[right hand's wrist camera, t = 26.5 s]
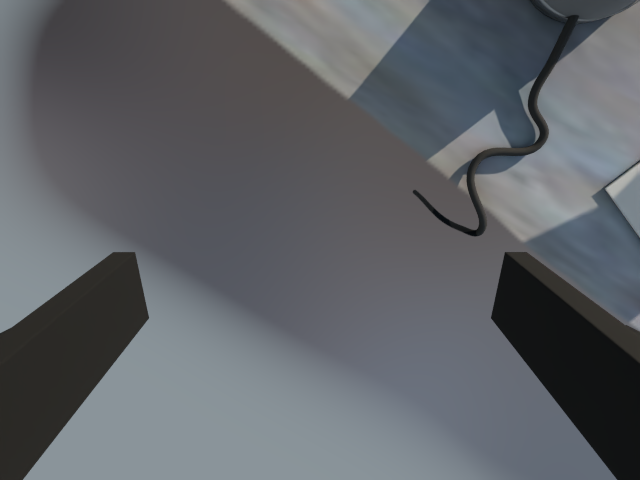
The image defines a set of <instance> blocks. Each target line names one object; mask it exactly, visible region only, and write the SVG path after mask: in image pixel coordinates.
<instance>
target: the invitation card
mask: <svg viewBox="0 0 640 480" xmlns="http://www.w3.org/2000/svg"><path fill="white" fill-rule="evenodd" d="M604 189H605V190H606V191H607V193H608V194H609V196H610V197H611V198H612V200H613V201H614V203H615V204H616V205H617V207H618V208H619V210H620V211H621V213H622V214H623V215H624V217H625V218H626V220H627V221H628V222H629V224H630V225H631V227H632V228H633V229H634V231H635V232H636V234H637V235H638V236H639V238H640V162H639V163H637V164H636V165H635V166H633V167H632V168H631V169H629V170H628V171H627V172H626V173H624V174H623V175H622V176H620V177H619V178H618V179H616V180H615V181H614V182H612V183H611V184H610V185H608V186H607V187H606V188H604Z"/></svg>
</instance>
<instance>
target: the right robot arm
mask: <svg viewBox="0 0 640 480" xmlns="http://www.w3.org/2000/svg"><path fill="white" fill-rule="evenodd" d="M638 1H640V0H531V2H532V3H533V4H534V5H535V7H536V8H537V9H539V10H540V11H541V12H542V13H544V14H545V15H546V16H548V17H550V18H552V19H554V20H557V21H560V22H564V23H566V24H565V26H564V28H563V30H562V32H561V34H560V36H559V38H558V40H557V42H556V44H555V47H554V49H553V51H552V53H551V55H550V57H549V59H548V61H547V63H546V64H545V66H544V68H543V69H542V71H541V73H540V74H539V76H538V77H537V79H536V81H535V83H534V84H533V86H532V89H531V91H530V95H529V99H528V108H529V112H530V114H531V116H532V118H533V120H534V121H535V123H536V124H537V126H538V128H539V131H540V136H539V138H538V140H537V141H536V142H535V143H534V144H533V145H532V146H529V147H525V148H492V149H488V150H485V151H483V152H481V153H480V154H478V155H477V156H476V157H475V158H474V159H473V160H472V162H471V164H470V166H469V168H468V172H467V187H468V191H469V194H470V197H471V199H472V202H473V204H474V207H475V209H476V211H477V214H478V218H479V227H478V229H477V230H472V229H469V228H467V227H464V226H462V225H459V224H457V223H454V222H452V221H450V220H449V219H447V218H446V217H444V216H443V215H441V214H440V213H439V212H438V211H437V210H436V209H435V208H434V207H433V206H432V205H431V204H430V203H429V202H428V201H427V200H426V199H425V198H424V197H423V196H422V195H421V194H420V193H419V192H418V191H416V190H413V194H414V195H416V196H417V197H418V198H419V199H420V200H421V201H422V202H423V204H424V205H425V206H426V207H427V208H428V209H429V210H430V211H431V212H432V213H433V214H434V215H435V216H436V217H437V218H438V219H439V220H440V221H442V222H443V223H445V224H446V225H448V226H450V227H451V228H454V229H456V230H458V231H461V232H463V233H465V234H467V235H470V236H474V237H476V236H480V235H482V234H483V232H484V231H485V229H486V226H487V219H486V214H485V212H484V209H483V206H482V204H481V201H480V199H479V197H478V194H477V191H476V187H475V182H474V175H475V171H476V168H477V167H478V165H479V163H480V162H481V161H482V160H483V159H485V158H487V157H490V156H523V155H528V154H531V153H534V152H535V151H537V150H538V149H540V148H541V147H542V146H543V145H544V143H545V142H546V140H547V138H548V134H549V129H548V126H547V124H546V122H545V120H544V119H543V117H542V115H541V114H540V112H539V110H538V107H537V99H538V95H539V92H540V89H541V87H542V85H543V84H544V82H545V80H546V79H547V77H548V76H549V74H550V73H551V71H552V69H553V68H554V66H555V64H556V62H557V61H558V59H559V57H560V55H561V53H562V51H563V49H564V47H565V45H566V43H567V41H568V38H569V36H570V34H571V32H572V30H573V28H574V26H575V24H579V23H588V22H592V21H596V20H600V19H603V18H606V17H609V16H613V15H615V14H617V13H620V12H622V11H624V10H626V9H627V8H629V7H631V6H632V5H634V4H635V3H637V2H638ZM148 319H149V316H148V311H147V307H146V302H145V297H144V293H143V288H142V283H141V279H140V274H139V269H138V264H137V260H136V255H135V252H113V253H112V254H110V255H109V256H108V257H106V258H105V259H104V260H102V261H101V262H100V263H98V264H97V265H96V266H94V267H93V268H91V269H90V270H89V271H87V272H86V273H85V274H83V275H82V276H81V277H79V278H78V279H77V280H75V281H74V282H73V283H71V284H70V285H69V286H67V287H66V288H65V289H63V290H62V291H60V292H59V293H58V294H56V295H55V296H54V297H52V298H51V299H50V300H48V301H47V302H46V303H44V304H43V305H42V306H40V307H39V308H38V309H36V310H35V311H33V312H32V313H31V314H29V315H28V316H27V317H25V318H24V319H23V320H21V321H20V322H19V323H17V324H16V325H15V326H13V327H12V328H10V329H8V330H6V331H4V332H2V333H0V480H23V479H24V477H25V476H26V475H27V474H28V472H29V471H30V470H31V468H32V467H33V466H34V465H35V463H36V462H37V461H38V459H39V458H40V457H41V456H42V454H43V453H44V452H45V450H46V449H47V448H48V447H49V445H50V444H51V443H52V442H53V440H54V439H55V438H56V436H57V435H58V434H59V433H60V431H61V430H62V429H63V427H64V426H65V425H66V424H67V422H68V421H69V420H70V419H71V417H72V416H73V415H74V413H75V412H76V411H77V410H78V408H79V407H80V406H81V404H82V403H83V402H84V400H85V399H86V398H87V397H88V395H89V394H90V393H91V392H92V390H93V389H94V388H95V386H96V385H97V384H98V383H99V381H100V380H101V379H102V378H103V376H104V375H105V374H106V372H107V371H108V370H109V369H110V367H111V366H112V365H113V363H114V362H115V361H116V360H117V358H118V357H119V356H120V354H121V353H122V352H123V351H124V349H125V348H126V347H127V346H128V344H129V343H130V342H131V340H132V339H133V338H134V337H135V335H136V334H137V333H138V331H139V330H140V329H141V328H142V326H143V325H144V324H145V322H146V321H147V320H148ZM491 319H492V320H493V321H494V322H495V324H496V325H497V326H498V328H499V329H500V330H501V331H502V333H503V334H504V335H505V337H506V338H507V339H508V340H509V342H510V343H511V344H512V346H513V347H514V348H515V349H516V351H517V352H518V353H519V355H520V356H521V357H522V358H523V360H524V361H525V362H526V363H527V365H528V366H529V367H530V369H531V370H532V371H533V372H534V374H535V375H536V376H537V378H538V379H539V380H540V381H541V383H542V384H543V385H544V386H545V388H546V389H547V390H548V392H549V393H550V394H551V395H552V397H553V398H554V399H555V401H556V402H557V403H558V404H559V406H560V407H561V408H562V410H563V411H564V412H565V413H566V415H567V416H568V417H569V419H570V420H571V421H572V422H573V424H574V425H575V426H576V427H577V429H578V430H579V431H580V433H581V434H582V435H583V436H584V438H585V439H586V440H587V442H588V443H589V444H590V445H591V447H592V448H593V449H594V451H595V452H596V453H597V454H598V456H599V457H600V458H601V459H602V461H603V462H604V463H605V465H606V466H607V467H608V468H609V470H610V471H611V472H612V474H613V475H614V476H615V477H616V479H617V480H640V332H639V331H637V330H635V329H633V328H631V327H629V326H627V325H624V324H623V323H621V322H620V321H619V320H617V319H616V318H615V317H613V316H612V315H611V314H609V313H608V312H607V311H605V310H604V309H602V308H601V307H600V306H598V305H597V304H596V303H594V302H593V301H592V300H590V299H589V298H588V297H586V296H585V295H584V294H582V293H581V292H580V291H578V290H577V289H575V288H574V287H573V286H571V285H570V284H569V283H567V282H566V281H565V280H563V279H562V278H561V277H559V276H558V275H557V274H555V273H554V272H553V271H551V270H550V269H548V268H547V267H546V266H544V265H543V264H542V263H540V262H539V261H538V260H536V259H535V258H534V257H532V256H531V255H530V254H528V253H527V252H505V255H504V260H503V264H502V269H501V274H500V278H499V283H498V288H497V293H496V297H495V302H494V307H493V311H492V316H491Z"/></svg>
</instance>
